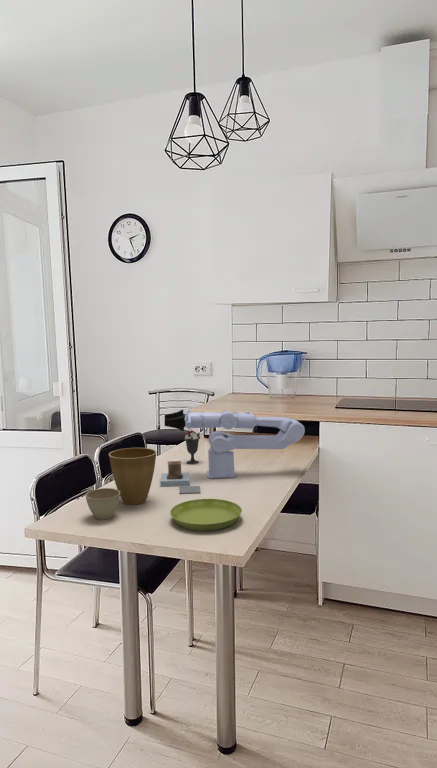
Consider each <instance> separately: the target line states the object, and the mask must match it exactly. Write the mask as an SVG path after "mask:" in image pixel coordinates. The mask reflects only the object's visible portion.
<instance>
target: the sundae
mask: <svg viewBox="0 0 437 768" xmlns="http://www.w3.org/2000/svg"><path fill="white" fill-rule="evenodd" d="M187 430H188V431H187V432H186V434H185V437H183V440H184V441H185V443H186V451H187V452H188V453H189V455H190V459H189V460H188V461H186V465H187V464H188V465H196V464H199V462H200V461H198V460H196V459H195V454H196V453H197V452H198V450H199V441H200V440H201V437H200V432H198V433H197V432H196V431H194V429H193V430H192V428H190V429H188V428H187Z"/></svg>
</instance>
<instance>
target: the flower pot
mask: <svg viewBox="0 0 437 768" xmlns="http://www.w3.org/2000/svg"><path fill="white" fill-rule="evenodd" d="M85 499H86V503H87V506H88V508H89V510H90V512H91V514H92V516H93V517H94V518H95V519H96V520H102V521H103V520H109V519H110V518H112V517H113V516H114V515H115V512H116V510H117V508H118V505H119V501H120V499H121V497H120V491H119V490H118V489H117V488H111V487H109V488H108V487H104V488H103V487H102V488H96V489H92V490H89V491H87V492H86V493H85Z"/></svg>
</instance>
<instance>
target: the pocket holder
mask: <svg viewBox="0 0 437 768" xmlns="http://www.w3.org/2000/svg"><path fill="white" fill-rule="evenodd" d="M189 473H190V472H181V479H169V477H168V472H166V473H165V472H164V473H160V487H181V486H190V474H189Z"/></svg>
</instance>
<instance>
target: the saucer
mask: <svg viewBox="0 0 437 768" xmlns="http://www.w3.org/2000/svg"><path fill="white" fill-rule="evenodd" d="M169 511H170V512H169V513H170V516H171V518H172V520H173V521H174V522H176V523H177V524H178V525H179V526H181V527H182V528H185V529H188V530H190V531H191V530H192V531H200V532H209V531H217V530H218V531H219V530H221V529H225V528H227V527H229V526H231V525H233V524H234V523H235V522H236V521H237V520H238V519H239V517H240V516H241V515H242V512H243V510H242V507H241V506H240V505H239V504H238V503H235V502H233V501H230V500H225V499H219V498H197V499H191V500H186V501H183V502H180V503H178V504H176V505H174V506H173V507H172V508H171V509H170V510H169Z"/></svg>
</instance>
